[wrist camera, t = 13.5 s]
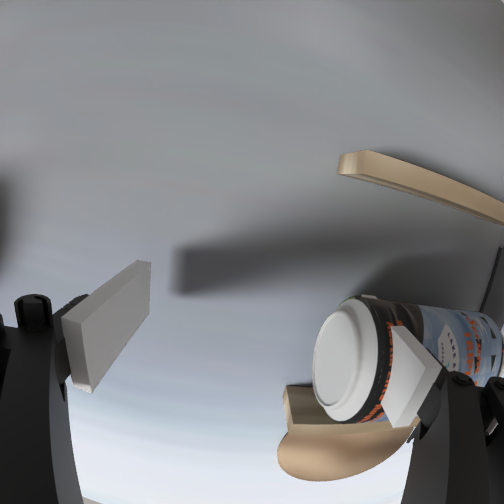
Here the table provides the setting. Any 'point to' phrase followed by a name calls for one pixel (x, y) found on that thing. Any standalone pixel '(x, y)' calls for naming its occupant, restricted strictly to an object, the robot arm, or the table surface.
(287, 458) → the coaster
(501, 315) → the pad
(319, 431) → the channel
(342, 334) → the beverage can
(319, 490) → the table surface
